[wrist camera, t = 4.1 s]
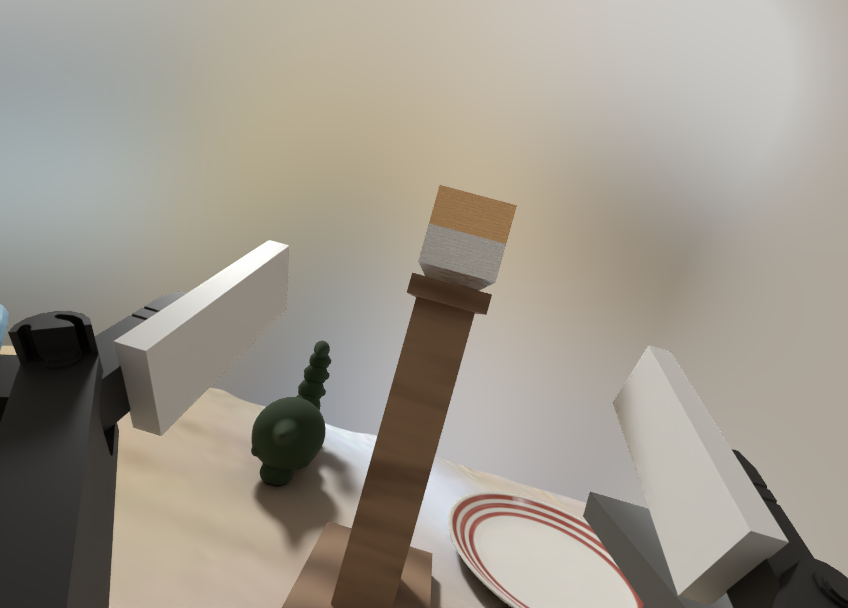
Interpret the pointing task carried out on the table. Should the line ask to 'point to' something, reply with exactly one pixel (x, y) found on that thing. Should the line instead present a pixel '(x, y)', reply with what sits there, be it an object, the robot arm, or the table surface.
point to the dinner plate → (536, 554)
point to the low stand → (638, 552)
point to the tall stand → (397, 467)
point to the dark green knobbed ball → (293, 424)
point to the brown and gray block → (466, 238)
